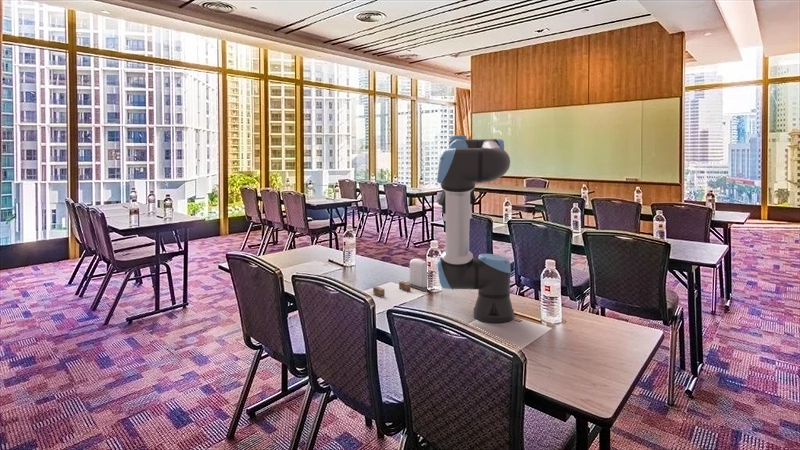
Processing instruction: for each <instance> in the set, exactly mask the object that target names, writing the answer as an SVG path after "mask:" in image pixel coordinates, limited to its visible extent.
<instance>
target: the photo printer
mask: <svg viewBox="0 0 800 450" xmlns="http://www.w3.org/2000/svg"><path fill="white" fill-rule="evenodd" d="M427 264H428V262H426V261H425V260H424V259H421V258H413V259H411V260H410V261H409V282H410V284H413V285H416V286H419V287H423V288H424V287H427Z"/></svg>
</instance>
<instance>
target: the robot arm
mask: <svg viewBox="0 0 800 450" xmlns="http://www.w3.org/2000/svg"><path fill="white" fill-rule="evenodd" d="M448 142H449V143H448V144H449V145H448V148H444V149H442V150H441V151H440V154H439V161H438V166H437V169H438V171H437V175H436V182H437V183H438V184H440V188H441V190H442V192H441V195H440V197H439V200H438V203H437V204H438V205H439V206H440V207H441V212H442V213H441V214H442V215H443V216H442V219H443V220H442V221H444V222H445V249H444V251H442V253H441V257H438V259H437V273H438V280H439V281H438V282H439V285H440V286H441V288H443V289H444V290H445V289H447V290H452V291H453V290H477V291H478V293H477V299H476V300H475V305H474V307H473V311H472V313H473V314H472V316H473V318H474V319H476V320H478V321H481V322H484V323H490V322H491V324H492V323H493V324H501V323H509V322H511V321H513V320H514V319H515V310H514V308H513V305H512V300H511V296H510V295H511V294H510V293H511V273H512V271H511V262H510V260H509V259H508V258H507V257H505V256H502V255H498V254H492V253H481V254H479V255H478V258H477V257H475V258H474V254H473V253H472V251H470V225H471V224H470V222H471V220H470V219H472V217H473V216H472V214H473V213H472V212H473V205H474V204H476V202H477V198H476V196H475V193H474V190H475V189H476V184H481V183H485V184H486V183H490V182H494V181H496V180H499V179H500V178H502V177H503V176H504V175H505V174H506V173H507V172H508V171H509V169H510V167H511V157H510V155H509V154H508V152H507V151H506V150H505V141H504V139H502V138H501V139H499V138H494V139H493V138H490V139H489V138H488V139H486V138H485V139H482V138H481V139H475V138H473V139H468V136H467V135H462V134H461V135H460V134H456V135H451V136H449V140H448Z"/></svg>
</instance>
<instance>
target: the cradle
mask: <svg viewBox="0 0 800 450" xmlns="http://www.w3.org/2000/svg"><path fill="white" fill-rule="evenodd" d="M406 282H407V281H399V282H398V285H399V286H398V288H401V289H400V290H402V289H403V290H402V291H405V290H406V291H405V292H410V291H409V290H411V288H412V287H411V284H409V283H406ZM372 293H375V294H377V295H379V296H378V297H380V296H383V297H385V288H382V287H380V286H377V285H376V286H373V287H372ZM375 294H374V295H375ZM377 295H376V296H377Z"/></svg>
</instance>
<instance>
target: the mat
mask: <svg viewBox="0 0 800 450" xmlns="http://www.w3.org/2000/svg"><path fill="white" fill-rule="evenodd" d="M405 282H406V283H409V284H410V281H405ZM411 286H412V287H411V288H413V287H414V289H416V288H417V290H419V291H421V292H428V291H427V290H428V289H427V287H424V288H423V287H419V286H416V285H413V284H411Z"/></svg>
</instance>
